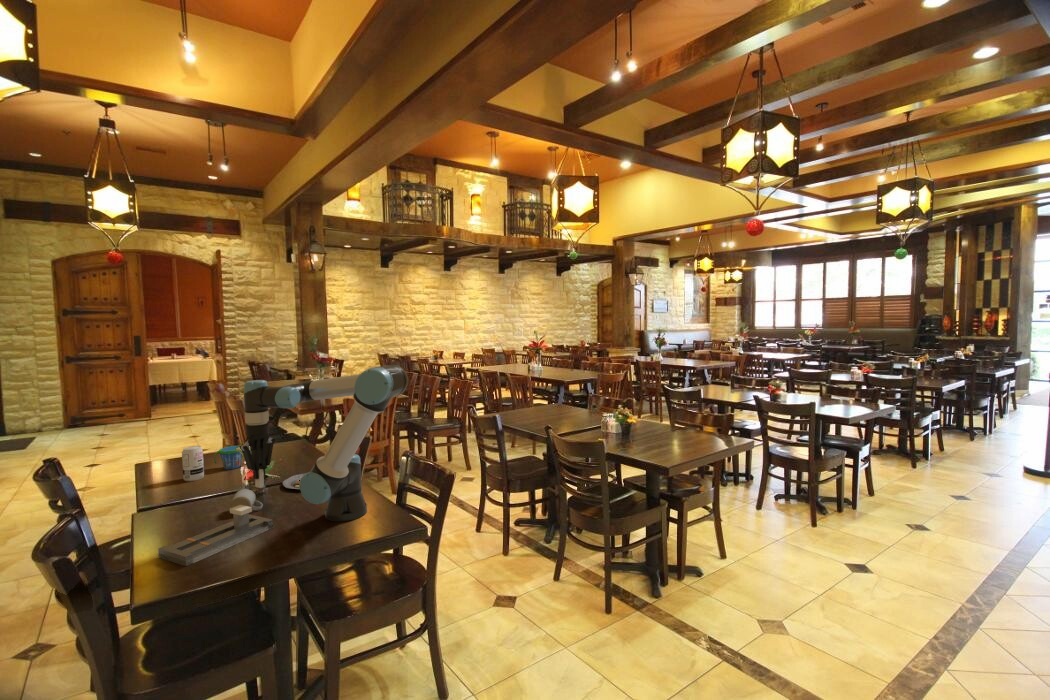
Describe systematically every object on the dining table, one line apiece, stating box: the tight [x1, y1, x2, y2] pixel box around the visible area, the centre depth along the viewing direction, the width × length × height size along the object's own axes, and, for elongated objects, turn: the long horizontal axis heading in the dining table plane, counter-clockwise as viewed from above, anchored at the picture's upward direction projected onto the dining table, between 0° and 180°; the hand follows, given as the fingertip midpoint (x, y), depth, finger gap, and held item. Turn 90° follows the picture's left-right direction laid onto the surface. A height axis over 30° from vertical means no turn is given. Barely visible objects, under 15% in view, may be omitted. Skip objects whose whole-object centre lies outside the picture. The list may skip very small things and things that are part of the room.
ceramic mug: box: [230, 488, 264, 511], centre depth 194 cm, size 11×8×8 cm
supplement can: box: [181, 445, 205, 482], centre depth 234 cm, size 8×8×15 cm
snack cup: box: [213, 445, 243, 470], centre depth 251 cm, size 16×10×10 cm
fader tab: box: [229, 505, 253, 529], centre depth 173 cm, size 4×6×7 cm, turn 65°
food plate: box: [282, 472, 307, 491], centre depth 226 cm, size 25×23×4 cm
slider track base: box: [157, 514, 274, 567], centre depth 166 cm, size 30×14×3 cm, turn 155°
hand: (259, 486), depth 180 cm, fingers closed
